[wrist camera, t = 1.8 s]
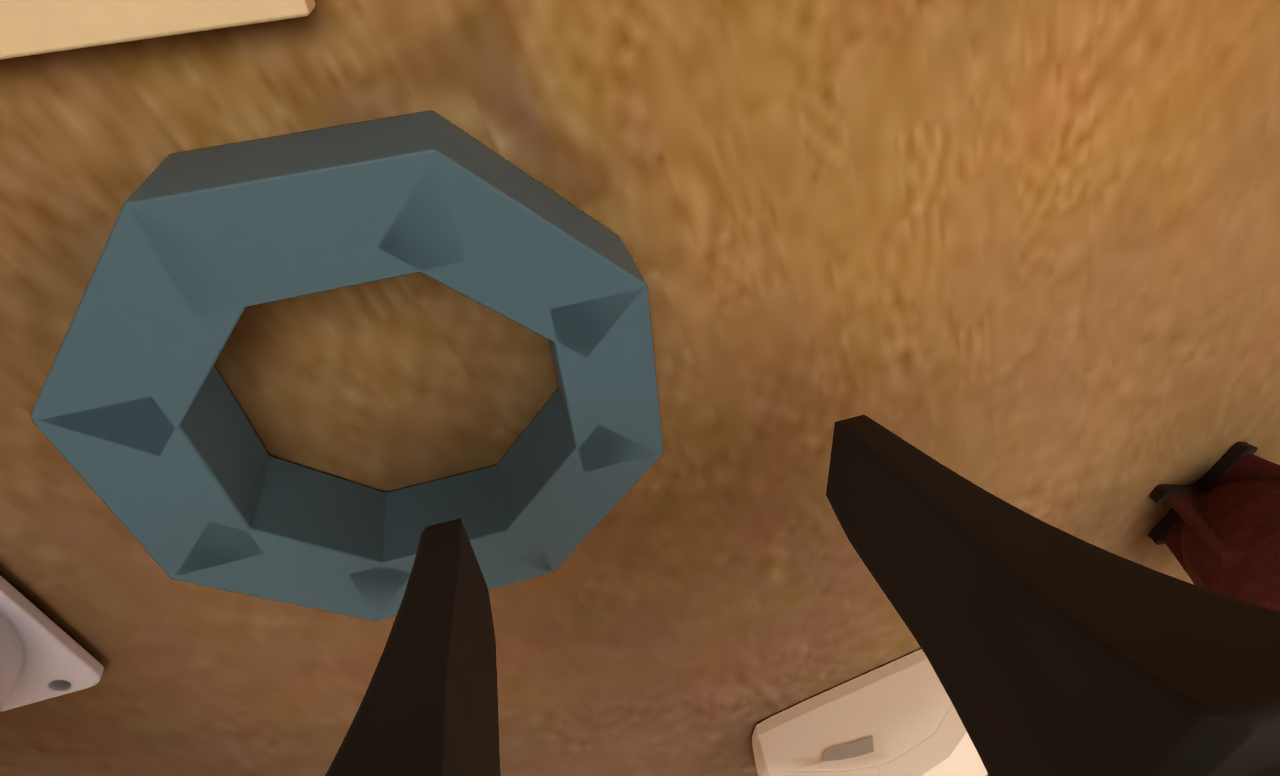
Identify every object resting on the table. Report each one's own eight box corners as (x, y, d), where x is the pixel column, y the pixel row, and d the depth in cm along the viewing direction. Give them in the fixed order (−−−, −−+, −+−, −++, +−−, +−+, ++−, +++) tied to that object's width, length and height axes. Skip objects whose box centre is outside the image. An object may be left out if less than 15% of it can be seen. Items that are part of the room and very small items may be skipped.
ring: (257, 580, 20) (239, 659, 18) (-36, 187, 12) (-124, 246, 10) (648, 478, 21) (672, 540, 19) (600, 81, 14) (632, 114, 12)
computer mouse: (735, 729, 34) (787, 869, 29) (968, 625, 34) (1060, 748, 29) (760, 771, 38) (810, 900, 33) (968, 678, 38) (1048, 795, 33)
